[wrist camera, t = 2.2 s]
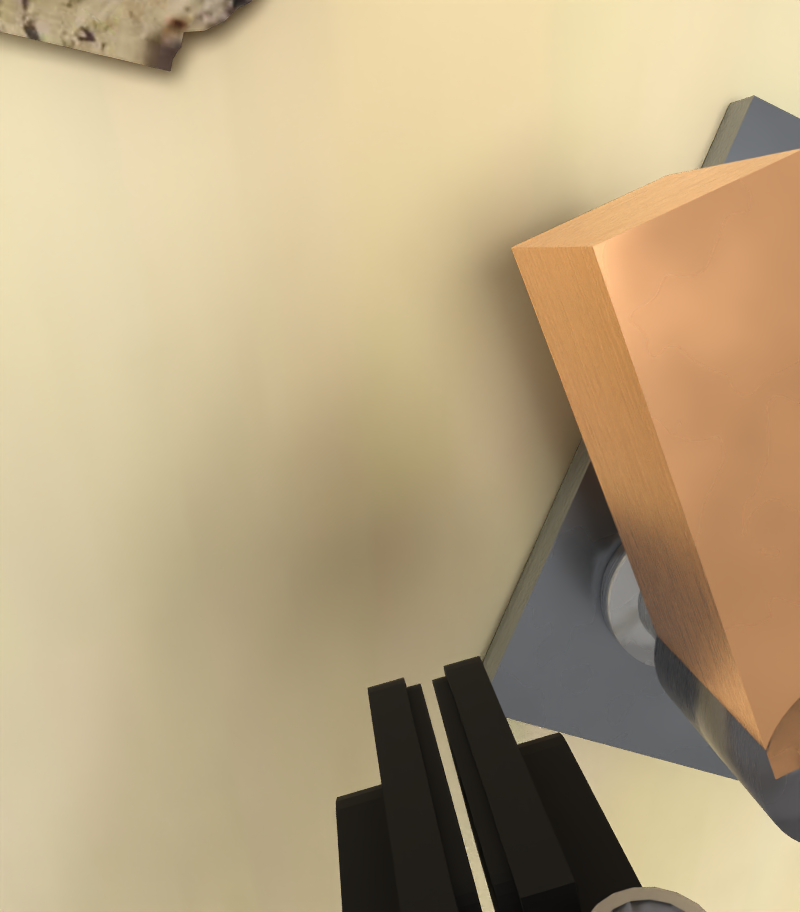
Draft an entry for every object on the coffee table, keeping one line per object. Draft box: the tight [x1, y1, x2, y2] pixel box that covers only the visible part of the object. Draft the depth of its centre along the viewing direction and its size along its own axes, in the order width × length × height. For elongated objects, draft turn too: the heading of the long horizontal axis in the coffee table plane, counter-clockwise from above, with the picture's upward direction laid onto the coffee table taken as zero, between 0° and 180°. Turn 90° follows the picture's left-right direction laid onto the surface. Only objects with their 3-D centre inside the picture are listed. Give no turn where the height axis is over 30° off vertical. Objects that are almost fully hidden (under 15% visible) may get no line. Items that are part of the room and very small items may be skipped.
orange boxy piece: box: [511, 149, 800, 842], centre depth 17 cm, size 15×5×6 cm, turn 24°
